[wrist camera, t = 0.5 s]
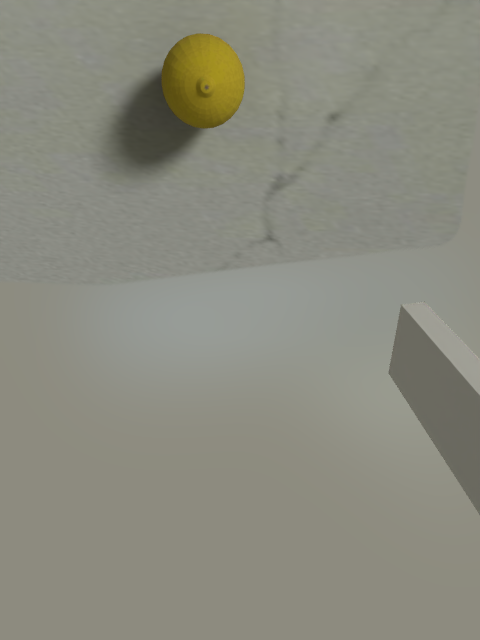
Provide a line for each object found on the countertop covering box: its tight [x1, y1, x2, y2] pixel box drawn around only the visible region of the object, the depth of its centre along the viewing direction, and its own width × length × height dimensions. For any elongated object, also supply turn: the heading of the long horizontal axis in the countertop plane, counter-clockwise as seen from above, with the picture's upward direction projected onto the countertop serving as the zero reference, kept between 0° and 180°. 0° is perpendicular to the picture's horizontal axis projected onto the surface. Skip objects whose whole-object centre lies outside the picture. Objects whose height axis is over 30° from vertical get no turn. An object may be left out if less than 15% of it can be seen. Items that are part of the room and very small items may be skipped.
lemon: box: [162, 34, 245, 129], centre depth 29 cm, size 6×6×8 cm
